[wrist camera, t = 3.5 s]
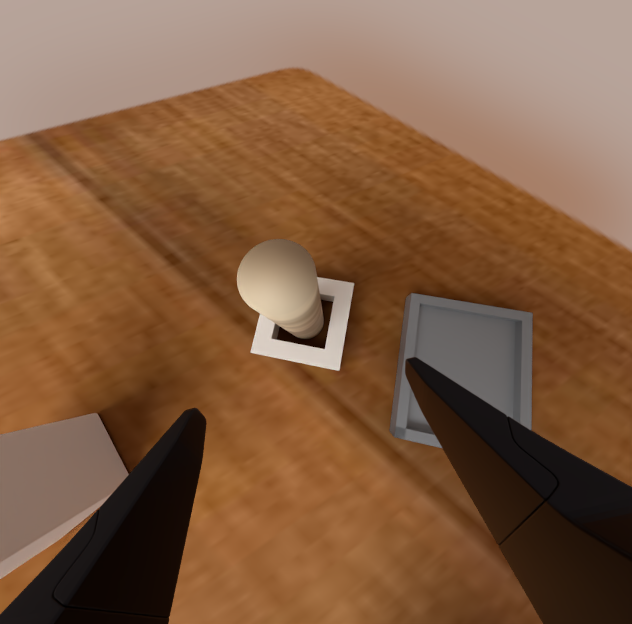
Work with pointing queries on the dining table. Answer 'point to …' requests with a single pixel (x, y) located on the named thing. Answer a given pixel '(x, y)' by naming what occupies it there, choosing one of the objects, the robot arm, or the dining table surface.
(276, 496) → the dining table surface
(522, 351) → the tray
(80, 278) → the dining table surface
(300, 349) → the socket
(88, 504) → the milk carton
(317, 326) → the dowel
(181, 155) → the dining table surface
